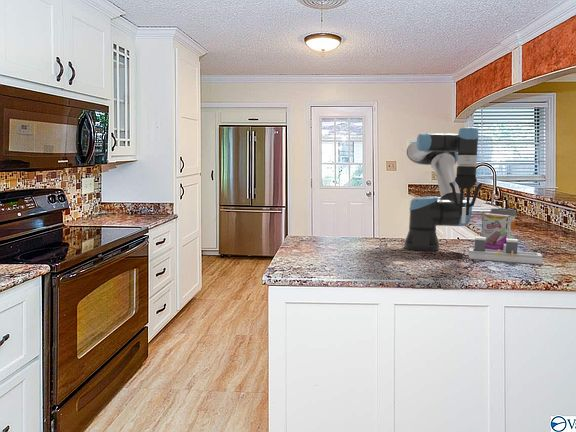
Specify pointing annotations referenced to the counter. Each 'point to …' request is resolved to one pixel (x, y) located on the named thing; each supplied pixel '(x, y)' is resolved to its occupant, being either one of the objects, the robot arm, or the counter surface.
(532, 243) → the counter surface
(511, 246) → the right tab
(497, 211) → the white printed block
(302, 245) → the counter surface
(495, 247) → the candy bar box
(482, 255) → the switch bank
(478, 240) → the left tab
